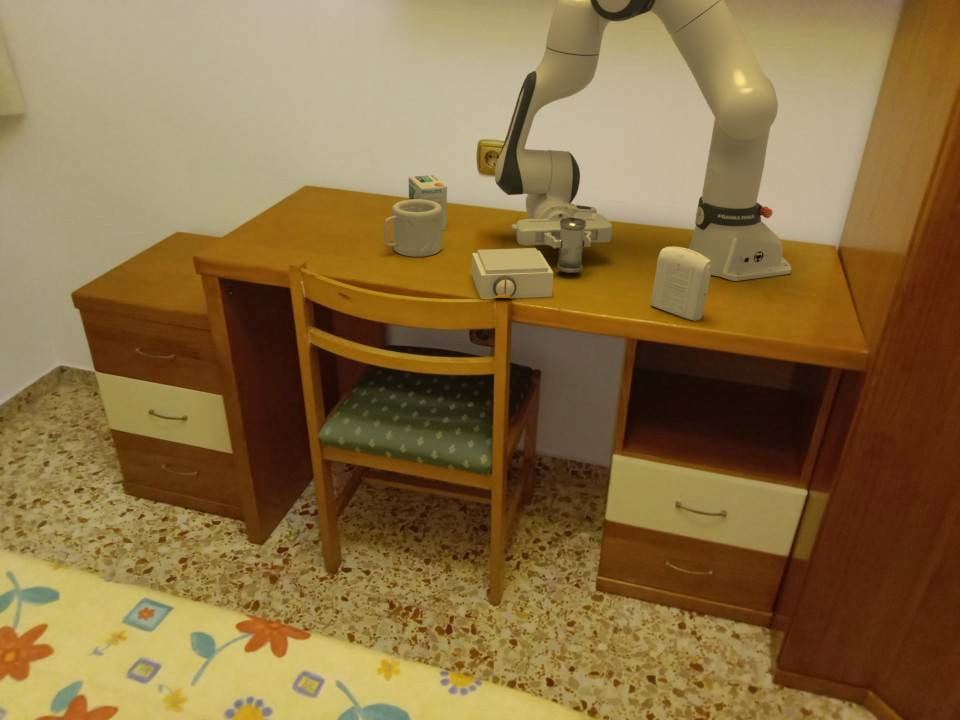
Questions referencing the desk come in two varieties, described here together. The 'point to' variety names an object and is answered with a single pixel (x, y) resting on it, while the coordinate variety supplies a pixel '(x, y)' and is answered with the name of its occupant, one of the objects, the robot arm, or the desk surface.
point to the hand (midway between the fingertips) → (572, 244)
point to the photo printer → (681, 282)
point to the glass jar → (571, 245)
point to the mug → (416, 228)
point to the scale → (512, 273)
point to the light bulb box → (430, 192)
